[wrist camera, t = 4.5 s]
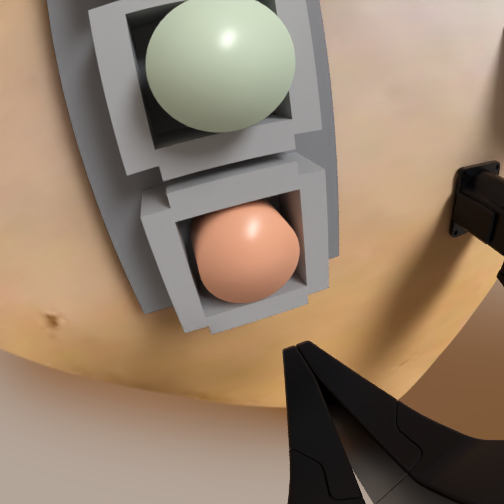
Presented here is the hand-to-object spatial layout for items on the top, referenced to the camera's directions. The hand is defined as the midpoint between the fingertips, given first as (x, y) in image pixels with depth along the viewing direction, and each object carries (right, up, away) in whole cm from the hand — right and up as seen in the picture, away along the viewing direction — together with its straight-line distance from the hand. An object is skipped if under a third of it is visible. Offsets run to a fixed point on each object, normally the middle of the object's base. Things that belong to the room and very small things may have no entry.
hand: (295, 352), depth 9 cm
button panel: (-4, +12, +4) cm, 13 cm away
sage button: (-3, +10, +1) cm, 10 cm away
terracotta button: (-2, +4, +7) cm, 8 cm away
